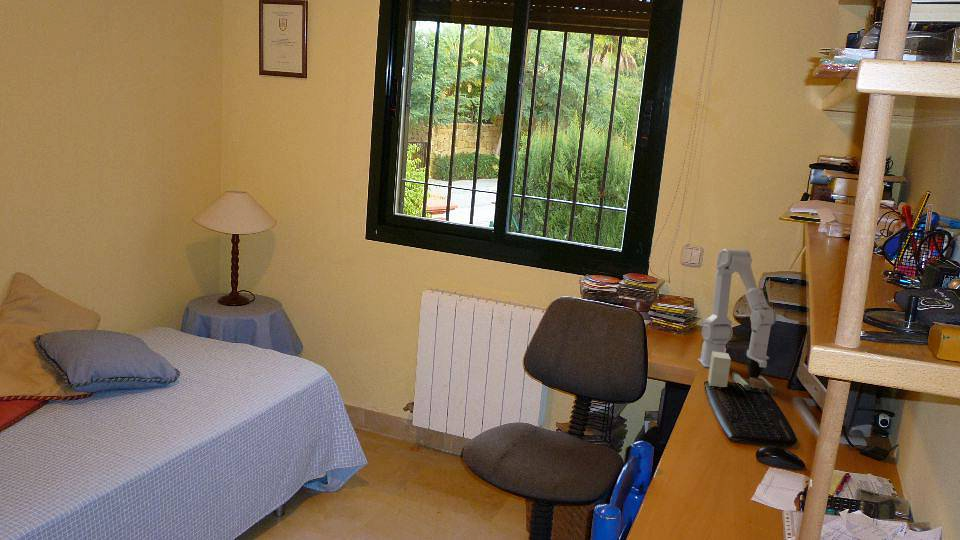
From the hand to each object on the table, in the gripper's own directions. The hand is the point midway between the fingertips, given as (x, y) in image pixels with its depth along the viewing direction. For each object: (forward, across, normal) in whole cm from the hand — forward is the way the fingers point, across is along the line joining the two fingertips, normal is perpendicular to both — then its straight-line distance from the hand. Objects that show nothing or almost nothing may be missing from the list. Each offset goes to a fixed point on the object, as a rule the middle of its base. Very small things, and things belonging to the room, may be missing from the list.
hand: (752, 381), depth 273 cm
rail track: (+1, -1, 0) cm, 1 cm away
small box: (+2, -3, +13) cm, 14 cm away
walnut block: (+2, -4, 0) cm, 4 cm away
